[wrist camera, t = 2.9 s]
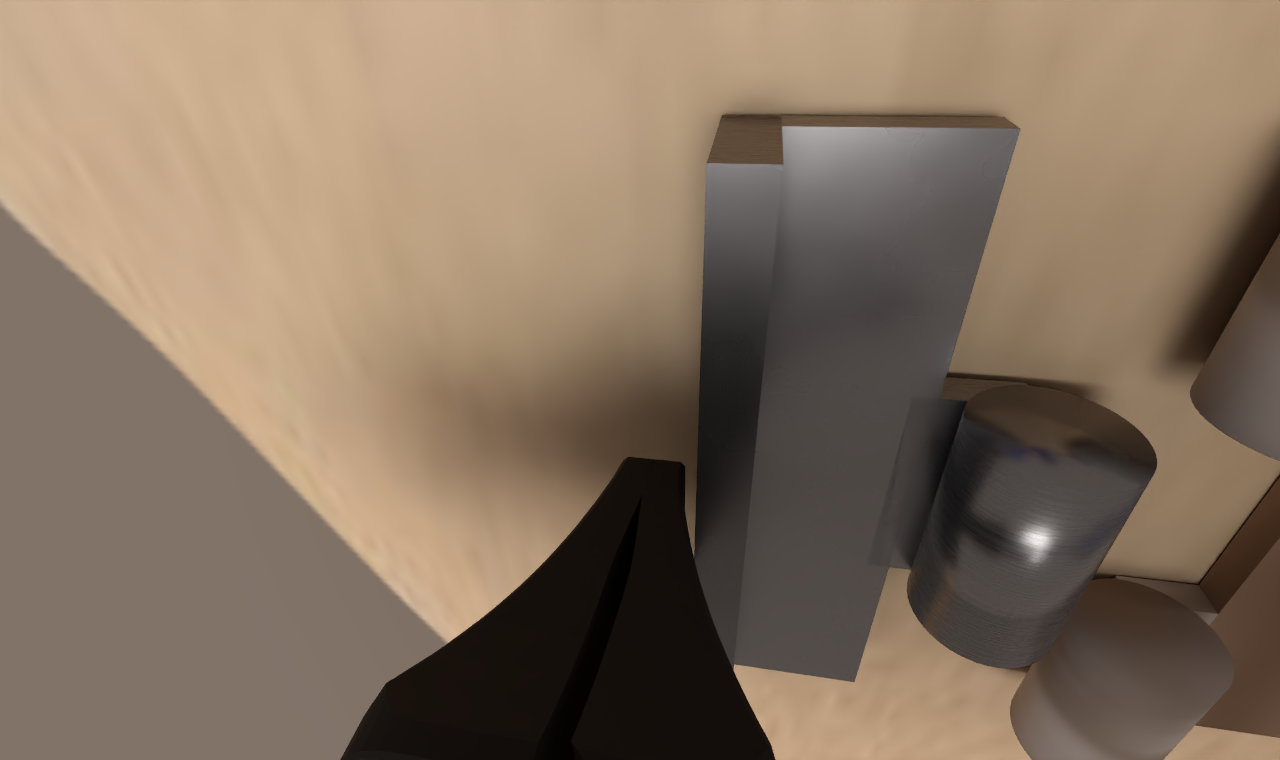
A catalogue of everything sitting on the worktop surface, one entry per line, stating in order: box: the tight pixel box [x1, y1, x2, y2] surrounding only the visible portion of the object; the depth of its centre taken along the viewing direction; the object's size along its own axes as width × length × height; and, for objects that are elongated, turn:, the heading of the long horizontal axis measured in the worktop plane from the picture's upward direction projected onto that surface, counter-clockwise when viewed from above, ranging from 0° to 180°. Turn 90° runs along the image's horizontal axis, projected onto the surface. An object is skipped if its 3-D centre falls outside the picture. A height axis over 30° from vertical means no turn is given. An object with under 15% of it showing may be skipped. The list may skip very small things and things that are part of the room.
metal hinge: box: [694, 115, 1157, 682], centre depth 13 cm, size 8×15×3 cm, turn 1°
